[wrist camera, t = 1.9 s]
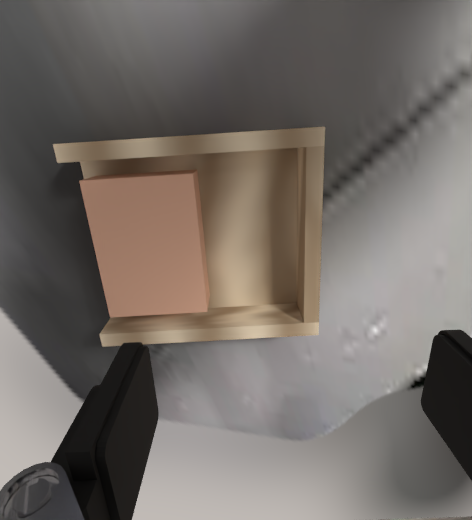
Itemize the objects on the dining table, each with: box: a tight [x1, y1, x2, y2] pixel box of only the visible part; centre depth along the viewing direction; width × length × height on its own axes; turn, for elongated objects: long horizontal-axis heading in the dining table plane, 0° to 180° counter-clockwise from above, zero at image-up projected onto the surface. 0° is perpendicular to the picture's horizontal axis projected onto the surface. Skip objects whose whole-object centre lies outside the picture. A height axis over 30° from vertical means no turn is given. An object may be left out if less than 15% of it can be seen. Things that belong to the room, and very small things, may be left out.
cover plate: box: [79, 169, 210, 317], centre depth 26 cm, size 8×11×3 cm
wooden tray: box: [53, 127, 325, 347], centre depth 27 cm, size 18×16×4 cm
